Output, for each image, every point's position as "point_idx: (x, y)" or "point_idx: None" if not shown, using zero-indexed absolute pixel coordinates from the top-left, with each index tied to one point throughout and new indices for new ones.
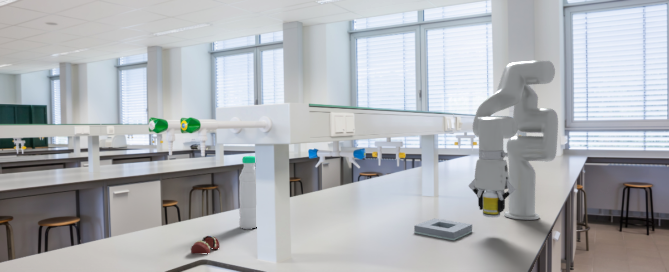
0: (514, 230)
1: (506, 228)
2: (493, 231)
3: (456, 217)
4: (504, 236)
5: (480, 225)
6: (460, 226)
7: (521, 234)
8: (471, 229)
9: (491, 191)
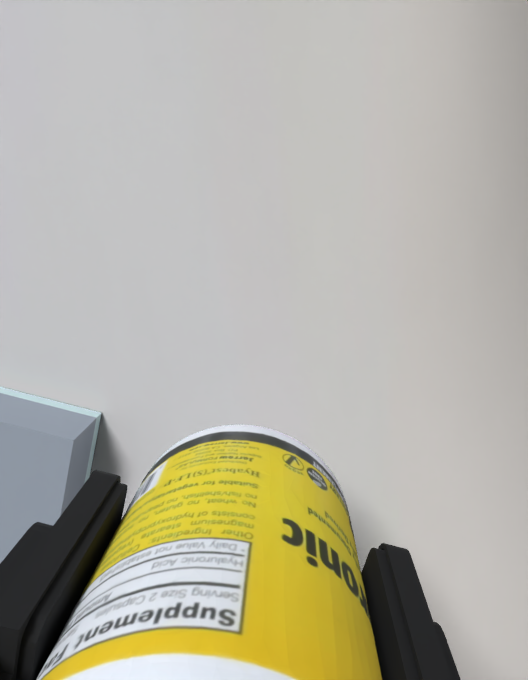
0: (448, 181)
1: (371, 125)
2: (264, 314)
3: None
4: (365, 447)
5: (112, 110)
6: (3, 558)
7: (506, 317)
8: (89, 434)
9: None
